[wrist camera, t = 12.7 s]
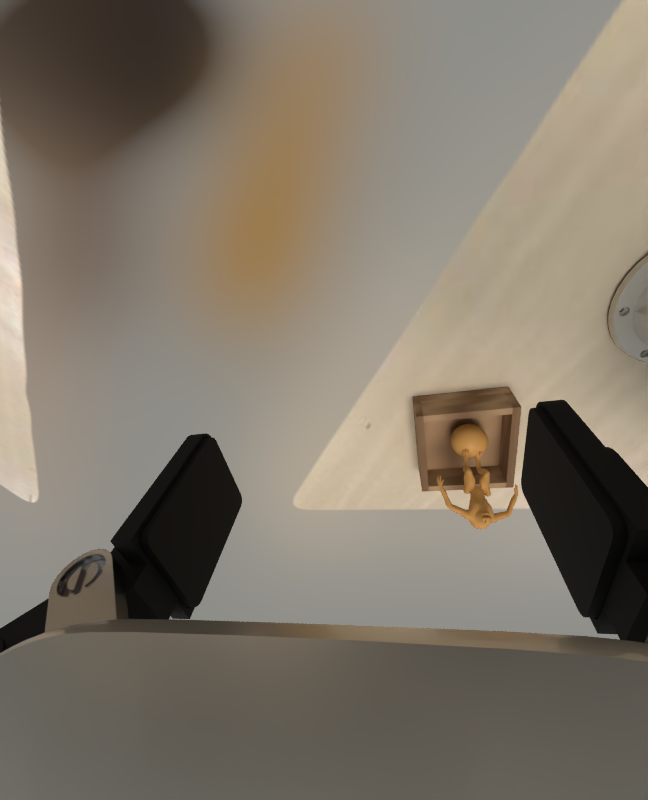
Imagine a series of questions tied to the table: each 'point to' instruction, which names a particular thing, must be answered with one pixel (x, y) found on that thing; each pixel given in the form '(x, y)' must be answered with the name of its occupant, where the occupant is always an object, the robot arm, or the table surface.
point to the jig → (455, 409)
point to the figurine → (472, 445)
